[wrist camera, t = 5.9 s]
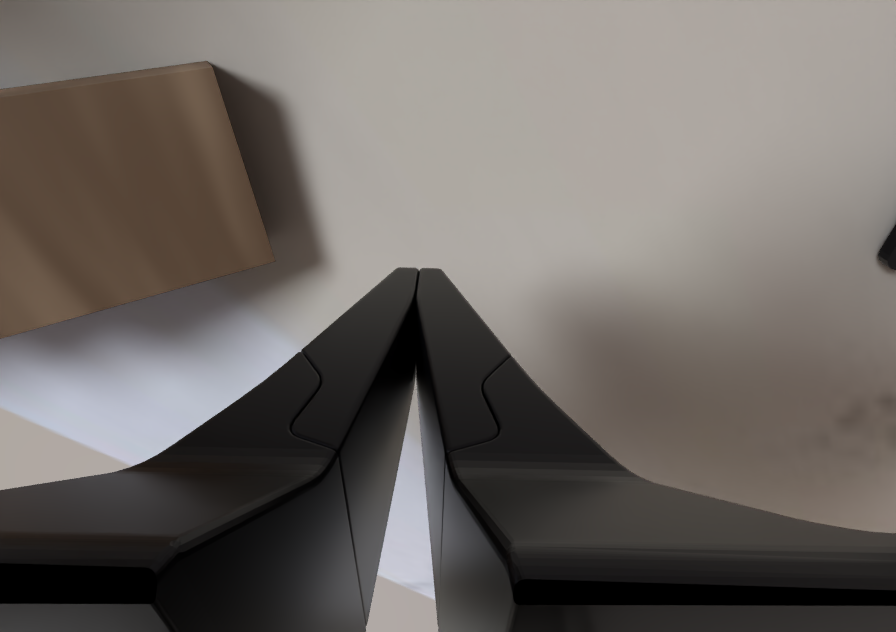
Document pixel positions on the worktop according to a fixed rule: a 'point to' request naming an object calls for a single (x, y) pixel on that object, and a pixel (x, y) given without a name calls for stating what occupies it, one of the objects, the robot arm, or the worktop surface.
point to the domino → (119, 193)
